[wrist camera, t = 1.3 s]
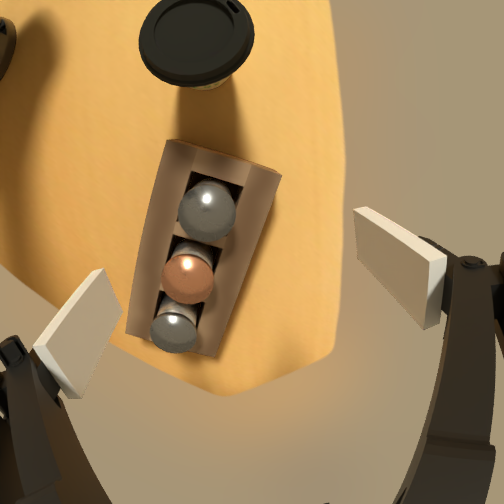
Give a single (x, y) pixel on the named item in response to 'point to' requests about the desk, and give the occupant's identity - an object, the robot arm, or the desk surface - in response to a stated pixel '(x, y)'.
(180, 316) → the grey plunger rear
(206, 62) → the coffee cup
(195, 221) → the ball
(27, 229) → the desk surface
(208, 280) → the terracotta plunger
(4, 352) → the robot arm
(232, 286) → the wooden jar holder
